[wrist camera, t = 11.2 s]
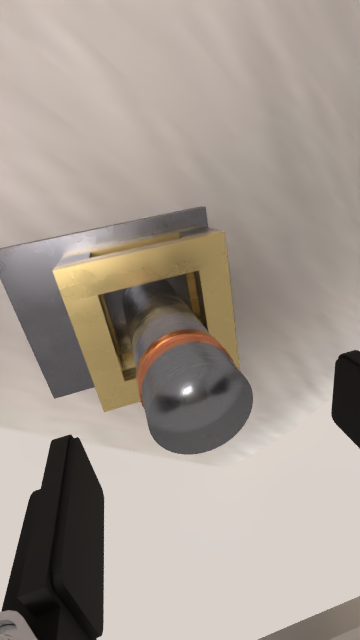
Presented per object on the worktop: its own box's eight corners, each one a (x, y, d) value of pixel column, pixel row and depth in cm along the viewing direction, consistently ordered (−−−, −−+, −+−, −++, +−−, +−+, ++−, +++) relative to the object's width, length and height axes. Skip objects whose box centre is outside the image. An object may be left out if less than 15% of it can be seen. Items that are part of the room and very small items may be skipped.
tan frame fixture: (201, 206, 24) (233, 208, 18) (220, 344, 29) (250, 381, 23) (-7, 249, 21) (-49, 268, 15) (55, 391, 27) (42, 445, 21)
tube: (171, 268, 24) (251, 347, 11) (181, 320, 26) (258, 435, 13) (114, 282, 23) (132, 382, 11) (129, 333, 25) (158, 470, 13)
